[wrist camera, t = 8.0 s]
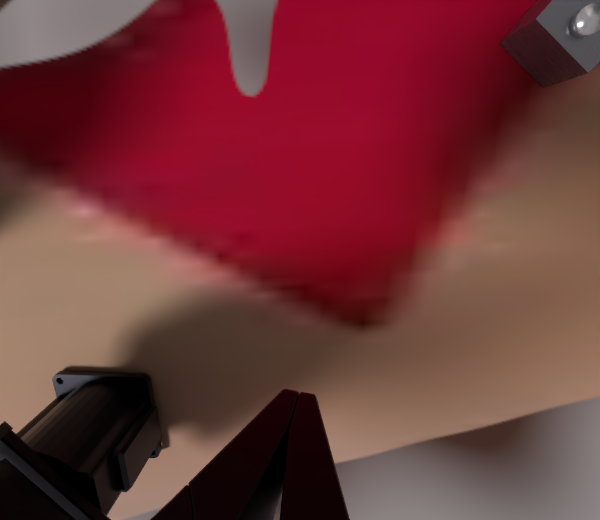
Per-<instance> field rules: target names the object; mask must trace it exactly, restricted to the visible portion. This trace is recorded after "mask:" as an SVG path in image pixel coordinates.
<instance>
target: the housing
mask: <svg viewBox="0 0 600 520" xmlns="http://www.w3.org/2000/svg"><path fill="white" fill-rule="evenodd" d="M499 44H500V45H501V46H502V47H503V48H504V49H505V50H506V51H507V52H508V53H509V54H510V55H511V56H512V57H513V58H514V59H515V60H516V61H517V62H518V63H519V64H520V65H521V66H522V67H523V68H524V69H525V70H526V71H527V72H528V73H529V74H530V75H531V76H532V77H533V78H534V79H535V80H536V81H537V82H538V83H539V84H540V85H541V86H542V87H546V86H549V85H552V84H556V83H559V82H562V81H565V80H568V79H571V78H574V77H577V76H580V75H583V74H586V73H589V72H590V71H591V70H592V69H593V68H594V67H595V65H596V64H597V63H598V62H599V61H600V0H536V1H535V2H534V4H533V5H532V6H531V7H530V8H529V9H528V10H527V12H526V13H525V14H524V15H523V16H522V17H521V18H520V20H519V21H518V22H517V23H516V24H515V25H514V27H513V28H512V29H511V30H510V31H509V32H508V33H507V35H506V36H505V37H504V38H503V39H502V40H501V41H500V43H499Z"/></svg>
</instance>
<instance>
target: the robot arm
mask: <svg viewBox="0 0 600 520" xmlns="http://www.w3.org/2000/svg"><path fill="white" fill-rule="evenodd" d="M62 379H63V380H62ZM140 381H143V382H144V383H142V382H140ZM53 384H54V388H55V392H56V396H57V398H56V399H55V400H54V401H53V402H52V403H51V404H49V405H48V406H47V407H46V408H45V409H44V410H43V411H42V412H40V413H39V414H38V415H37V416H36V417H35V418H34V419H33V420H32V421H30V422H29V423H28V424H27V425H26V426H25V427H24V428H23V429H21V430H20V431H19V432H18V433H17V434H15V433H14V432H13V431H12V429H13V428H12V427H11V426H10V425H9V424H8V423H6V422H3V423H2V424H1V425H0V520H111V519H110V518H109V517H107V514H108V513H109V511H110V510H111V508H112V506H113V505H114V503H115V501H116V500H117V498H118V497H119V495H120V493H121V492H127V491H128V490H129V489H130V488H131V487H132V486H133V484H134V482H135V481H136V479H137V477H138V475H139V474H140V472H141V470H142V469H143V467H144V465H145V464H146V462H147V460H148V459H149V458H156V457H158V455H159V454H160V452H161V450H162V447H161V441H160V438H161V431H160V425H159V418H158V412H157V407H156V406H155V403H154V397H153V391H152V384H151V379H150V377H149V376H148V375H146V374H143V373H114V372H82V371H60V372H58V373H57V374H56V375H54V376H53ZM281 494H282V501H281V513H280V520H350V519H349V515H348V512H347V508H346V504H345V501H344V497H343V494H342V490H341V486H340V482H339V479H338V475H337V471H336V468H335V464H334V460H333V457H332V453H331V449H330V446H329V442H328V438H327V435H326V431H325V428H324V424H323V420H322V417H321V413H320V409H319V406H318V402H317V398H316V396H315V395H314V394H310V393H304V392H301V393H300V394H299V393H298V391H294V390H288V389H284V390H282V391H281V392H280V393H279V394H278V395H277V396H276V397H275V398H274V399H273V400H272V401H271V402H270V403H269V404H268V405H267V406H266V407H265V408H264V409H263V410H262V411H261V412H260V413H259V414H258V415H257V416H256V417H255V418H254V419H253V420H252V421H251V422H250V423H249V424H248V425H247V426H246V427H245V428H244V429H243V430H242V431H241V432H240V433H239V434H238V435H236V436H235V437H234V438H233V439H232V440H231V441H230V442H229V443H228V444H227V445H226V446H225V447H224V448H223V449H222V450H221V451H220V452H219V453H218V454H217V455H216V456H215V457H214V458H213V459H212V460H211V461H210V462H209V463H208V464H207V465H206V466H205V467H204V468H203V469H202V470H201V471H200V472H199V473H198V474H197V475H196V476H195V477H194V478H193V479H192V480H191V481H190V482H189V486H188V485H186V486H185V487H184V488H183V489H182V490H181V491H180V492H179V493H178V494H177V495H176V496H175V497H174V498H173V499H172V500H171V501H170V502H168V503H167V504H166V505H165V506H164V507H163V508H162V509H161V510H160V511H159V512H158V513H157V514H156V515H155V516H154V517H152V518H151V519H150V520H273V519H274V516H275V513H276V510H277V506H278V503H279V500H280V497H281Z"/></svg>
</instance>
